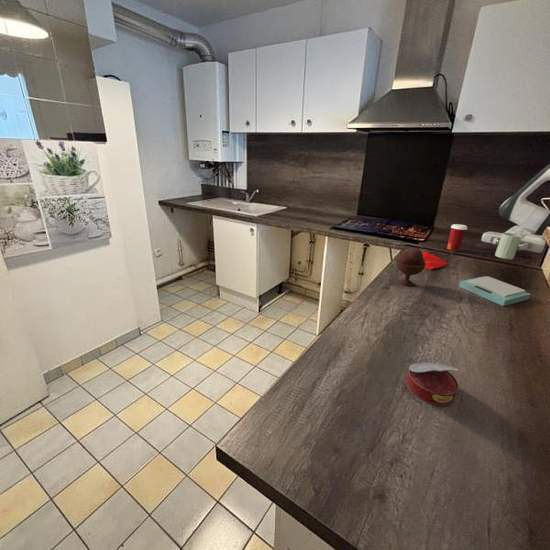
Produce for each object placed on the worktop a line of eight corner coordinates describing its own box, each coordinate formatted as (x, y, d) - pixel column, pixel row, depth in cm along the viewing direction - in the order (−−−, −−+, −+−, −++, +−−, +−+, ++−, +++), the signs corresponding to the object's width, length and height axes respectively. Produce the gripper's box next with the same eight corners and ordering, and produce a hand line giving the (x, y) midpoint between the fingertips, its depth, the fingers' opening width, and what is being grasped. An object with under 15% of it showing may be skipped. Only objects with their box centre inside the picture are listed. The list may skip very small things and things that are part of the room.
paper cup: (463, 251, 160) (471, 226, 154) (455, 253, 156) (463, 227, 151) (449, 247, 166) (456, 223, 160) (441, 249, 162) (448, 224, 157)
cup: (517, 258, 114) (525, 236, 111) (507, 260, 112) (515, 237, 108) (501, 253, 119) (508, 232, 116) (491, 254, 117) (498, 233, 114)
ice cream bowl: (421, 281, 120) (430, 247, 114) (418, 291, 111) (427, 254, 105) (394, 275, 125) (401, 242, 119) (389, 285, 116) (397, 249, 110)
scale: (528, 299, 108) (531, 291, 107) (503, 306, 102) (506, 298, 101) (482, 281, 122) (485, 274, 121) (458, 286, 117) (460, 279, 115)
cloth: (445, 273, 129) (447, 268, 128) (412, 266, 136) (413, 262, 135) (448, 257, 150) (449, 253, 149) (419, 252, 156) (420, 248, 155)
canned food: (408, 409, 65) (393, 373, 63) (417, 379, 73) (404, 345, 71) (466, 416, 58) (451, 375, 56) (470, 382, 65) (457, 344, 63)
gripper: (488, 226, 128) (479, 231, 119) (549, 236, 114) (544, 243, 105) (483, 240, 130) (475, 246, 121) (542, 252, 117) (538, 259, 108)
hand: (508, 245), depth 113 cm, fingers closed on cup, 6 cm apart
